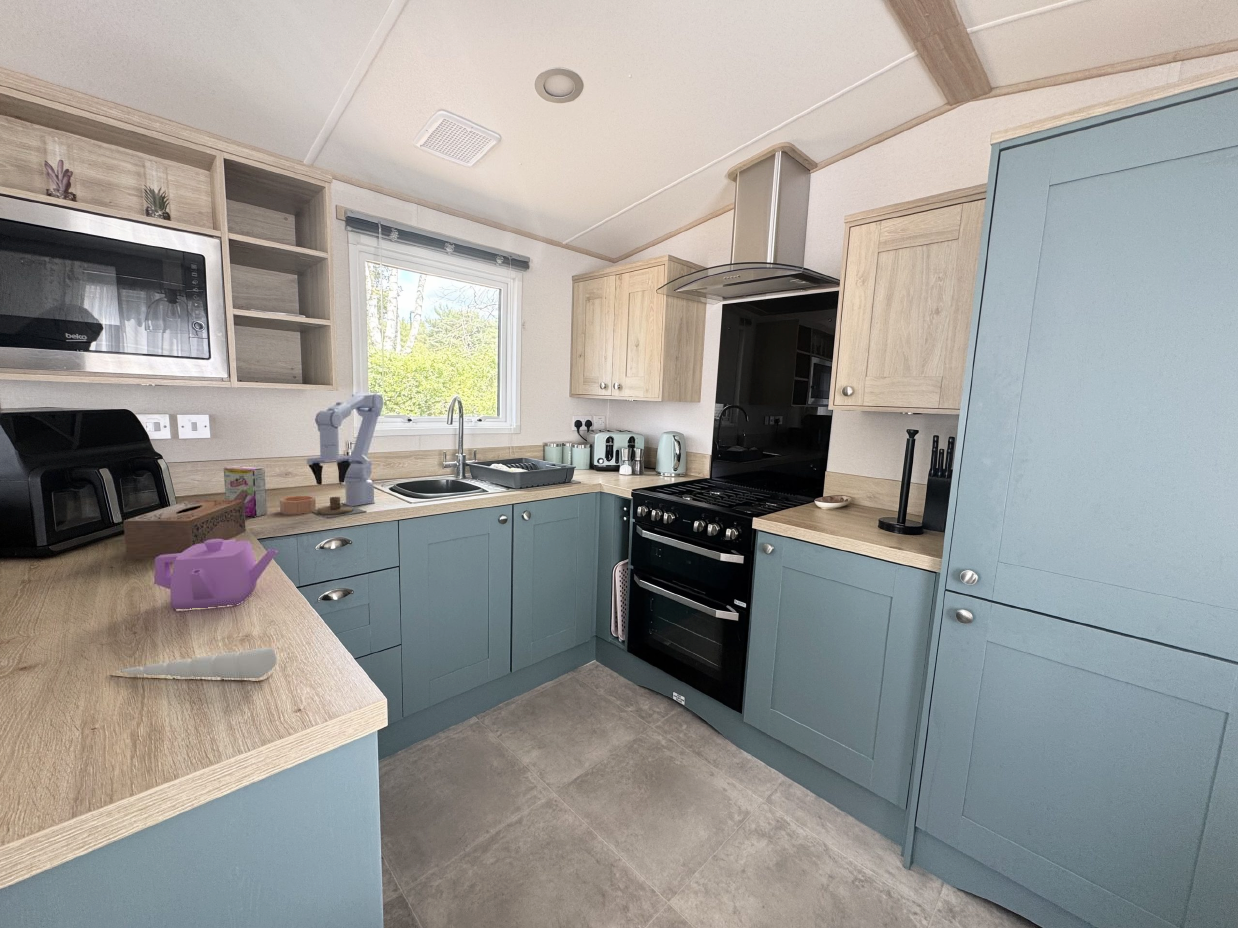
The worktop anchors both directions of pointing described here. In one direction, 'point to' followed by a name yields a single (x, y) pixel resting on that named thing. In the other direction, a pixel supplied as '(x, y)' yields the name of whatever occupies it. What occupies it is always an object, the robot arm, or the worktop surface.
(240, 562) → the teakettle
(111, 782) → the worktop surface
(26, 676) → the worktop surface
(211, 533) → the tissue box cover
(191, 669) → the unicorn horn
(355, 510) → the mat
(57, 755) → the worktop surface
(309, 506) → the bowl
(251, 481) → the candy bar box
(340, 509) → the lid
